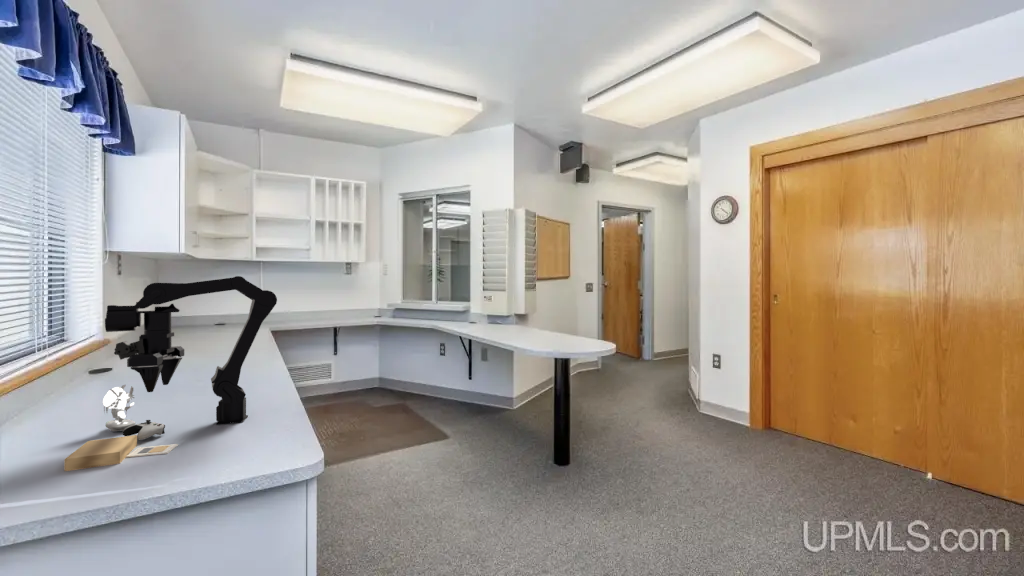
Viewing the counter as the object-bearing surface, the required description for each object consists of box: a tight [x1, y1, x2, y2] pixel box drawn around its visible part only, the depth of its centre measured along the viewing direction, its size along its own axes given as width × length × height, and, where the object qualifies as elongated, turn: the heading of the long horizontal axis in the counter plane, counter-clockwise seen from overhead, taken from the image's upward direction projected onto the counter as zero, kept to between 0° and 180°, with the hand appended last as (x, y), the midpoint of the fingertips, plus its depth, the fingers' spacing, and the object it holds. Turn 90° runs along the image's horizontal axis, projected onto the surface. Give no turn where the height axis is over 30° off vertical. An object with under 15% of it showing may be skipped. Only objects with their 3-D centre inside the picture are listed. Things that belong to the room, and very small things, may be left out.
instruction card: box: [125, 443, 179, 459], centre depth 105 cm, size 8×6×1 cm
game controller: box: [121, 419, 166, 441], centre depth 115 cm, size 10×5×6 cm
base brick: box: [63, 434, 138, 472], centre depth 101 cm, size 9×13×3 cm
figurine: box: [102, 384, 137, 433], centre depth 120 cm, size 9×6×12 cm
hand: (158, 388), depth 118 cm, fingers open, 9 cm apart
